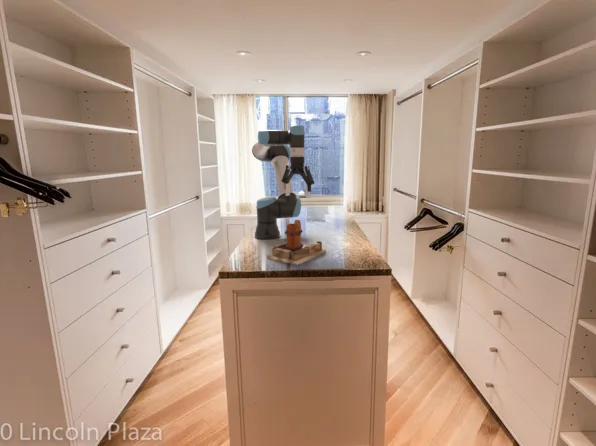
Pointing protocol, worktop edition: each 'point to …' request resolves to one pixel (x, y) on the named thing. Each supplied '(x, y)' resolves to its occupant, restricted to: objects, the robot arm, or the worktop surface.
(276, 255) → the seat
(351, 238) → the worktop surface
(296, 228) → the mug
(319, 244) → the leg
